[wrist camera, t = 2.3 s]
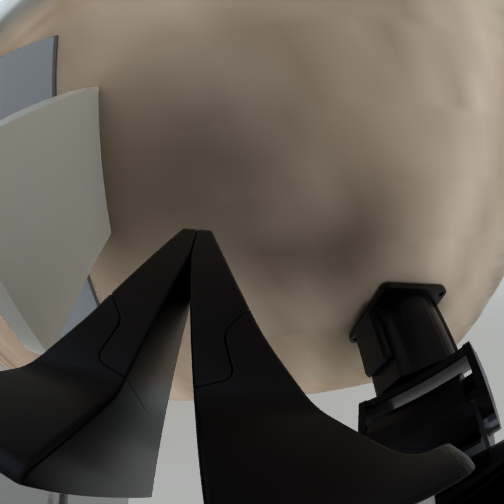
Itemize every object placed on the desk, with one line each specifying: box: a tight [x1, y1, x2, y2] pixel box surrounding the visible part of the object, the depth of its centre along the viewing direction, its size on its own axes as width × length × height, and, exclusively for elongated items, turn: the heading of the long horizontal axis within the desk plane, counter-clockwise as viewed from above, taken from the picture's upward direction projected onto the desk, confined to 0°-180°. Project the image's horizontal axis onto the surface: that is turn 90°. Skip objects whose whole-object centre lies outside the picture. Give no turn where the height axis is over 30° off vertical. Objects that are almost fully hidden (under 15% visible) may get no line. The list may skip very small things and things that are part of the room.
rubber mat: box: [0, 36, 99, 340], centre depth 15 cm, size 9×27×1 cm, turn 172°
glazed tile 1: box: [0, 86, 111, 355], centre depth 8 cm, size 2×8×8 cm, turn 172°
